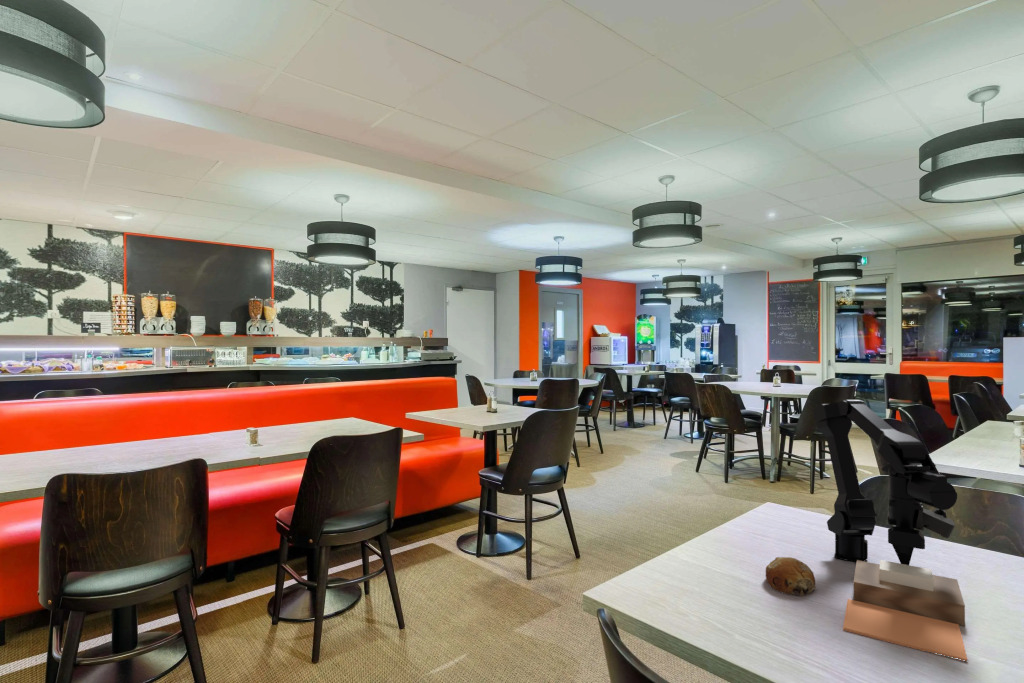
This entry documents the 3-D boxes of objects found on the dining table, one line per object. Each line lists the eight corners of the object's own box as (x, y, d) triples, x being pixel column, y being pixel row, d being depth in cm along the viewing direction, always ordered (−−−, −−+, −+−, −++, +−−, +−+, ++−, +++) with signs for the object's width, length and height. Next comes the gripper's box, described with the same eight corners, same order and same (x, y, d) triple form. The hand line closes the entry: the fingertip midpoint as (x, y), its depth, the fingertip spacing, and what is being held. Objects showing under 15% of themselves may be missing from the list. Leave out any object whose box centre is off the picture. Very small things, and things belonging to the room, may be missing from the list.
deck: (853, 600, 113) (853, 581, 113) (856, 577, 124) (856, 560, 124) (964, 626, 103) (964, 605, 103) (957, 598, 114) (957, 579, 114)
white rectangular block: (879, 580, 114) (879, 568, 114) (880, 570, 118) (879, 559, 119) (933, 591, 108) (933, 579, 108) (931, 580, 113) (931, 569, 113)
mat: (843, 630, 101) (843, 627, 101) (847, 601, 113) (847, 598, 113) (967, 662, 91) (967, 659, 91) (958, 627, 102) (958, 624, 102)
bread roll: (814, 600, 121) (812, 563, 124) (818, 599, 112) (816, 558, 115) (765, 592, 125) (765, 556, 128) (766, 590, 116) (765, 551, 120)
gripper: (956, 513, 106) (957, 592, 106) (947, 492, 121) (948, 561, 121) (887, 504, 113) (888, 578, 112) (887, 485, 128) (888, 550, 128)
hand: (905, 567), depth 118 cm, fingers closed
